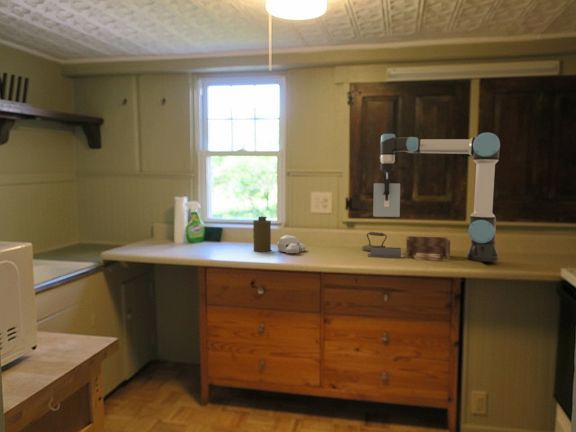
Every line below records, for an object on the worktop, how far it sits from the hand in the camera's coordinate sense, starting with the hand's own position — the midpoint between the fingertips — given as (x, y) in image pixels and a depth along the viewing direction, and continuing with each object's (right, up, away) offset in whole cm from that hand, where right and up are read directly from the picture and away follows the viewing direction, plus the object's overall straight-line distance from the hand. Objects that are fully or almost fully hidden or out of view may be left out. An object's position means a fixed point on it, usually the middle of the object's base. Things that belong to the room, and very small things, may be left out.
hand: (386, 206), depth 252 cm
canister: (-69, -26, +23) cm, 77 cm away
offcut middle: (+19, -28, -8) cm, 35 cm away
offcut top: (+20, -26, -8) cm, 34 cm away
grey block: (0, -27, +2) cm, 27 cm away
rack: (+22, -27, +1) cm, 35 cm away
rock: (-53, -26, +19) cm, 62 cm away
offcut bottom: (+20, -29, -8) cm, 36 cm away
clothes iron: (-7, -28, +20) cm, 35 cm away
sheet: (0, -6, 0) cm, 6 cm away
